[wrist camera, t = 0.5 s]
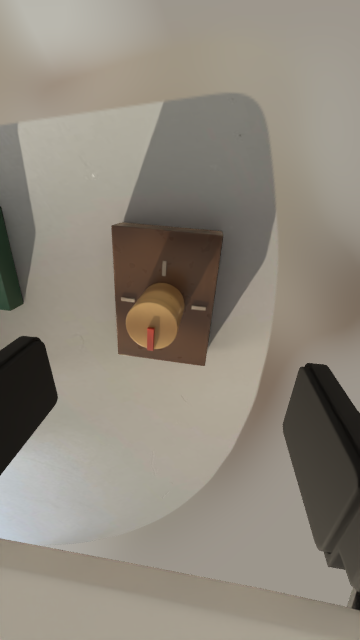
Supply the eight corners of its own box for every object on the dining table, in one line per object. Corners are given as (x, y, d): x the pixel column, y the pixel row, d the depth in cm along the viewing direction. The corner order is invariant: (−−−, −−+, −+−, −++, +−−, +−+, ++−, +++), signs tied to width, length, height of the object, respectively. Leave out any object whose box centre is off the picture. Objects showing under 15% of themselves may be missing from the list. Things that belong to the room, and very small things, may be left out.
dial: (141, 280, 24) (123, 300, 19) (186, 285, 24) (179, 306, 19) (141, 320, 26) (125, 347, 21) (183, 325, 26) (175, 354, 21)
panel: (122, 222, 25) (110, 225, 22) (222, 231, 24) (223, 235, 21) (126, 341, 31) (117, 355, 28) (205, 351, 30) (204, 367, 27)
